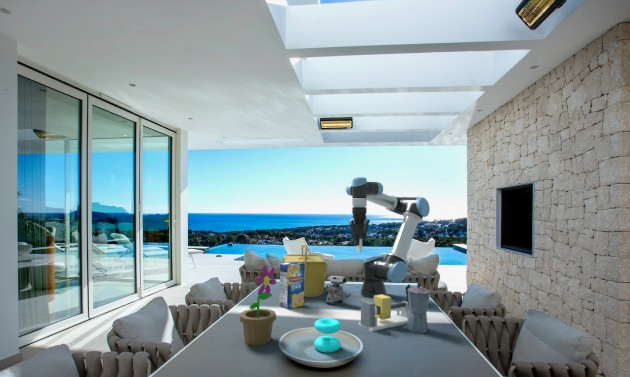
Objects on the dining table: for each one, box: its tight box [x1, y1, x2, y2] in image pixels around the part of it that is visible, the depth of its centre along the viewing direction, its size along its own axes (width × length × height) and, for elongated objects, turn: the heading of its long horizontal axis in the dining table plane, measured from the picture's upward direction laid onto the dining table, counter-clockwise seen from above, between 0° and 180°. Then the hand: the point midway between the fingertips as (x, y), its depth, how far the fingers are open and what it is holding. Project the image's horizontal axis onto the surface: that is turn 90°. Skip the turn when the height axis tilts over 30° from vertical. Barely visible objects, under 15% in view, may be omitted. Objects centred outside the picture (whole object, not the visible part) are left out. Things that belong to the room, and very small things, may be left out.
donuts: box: [313, 317, 342, 353], centre depth 135 cm, size 10×10×10 cm
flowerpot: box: [239, 265, 277, 346], centre depth 142 cm, size 14×14×30 cm
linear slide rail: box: [358, 299, 410, 332], centre depth 163 cm, size 26×9×11 cm, turn 121°
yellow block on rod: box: [373, 294, 392, 320], centre depth 162 cm, size 5×6×9 cm
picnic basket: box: [281, 239, 329, 298], centre depth 219 cm, size 29×26×30 cm
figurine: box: [325, 275, 352, 306], centre depth 193 cm, size 9×12×15 cm
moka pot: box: [405, 283, 431, 334], centre depth 156 cm, size 10×15×20 cm, turn 27°
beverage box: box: [279, 262, 305, 310], centre depth 189 cm, size 7×11×22 cm, turn 131°
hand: (359, 251), depth 188 cm, fingers closed
